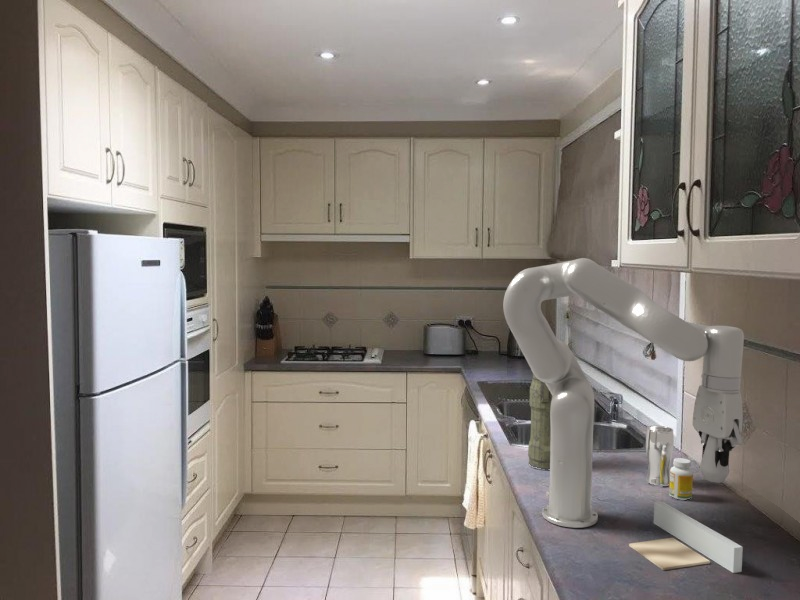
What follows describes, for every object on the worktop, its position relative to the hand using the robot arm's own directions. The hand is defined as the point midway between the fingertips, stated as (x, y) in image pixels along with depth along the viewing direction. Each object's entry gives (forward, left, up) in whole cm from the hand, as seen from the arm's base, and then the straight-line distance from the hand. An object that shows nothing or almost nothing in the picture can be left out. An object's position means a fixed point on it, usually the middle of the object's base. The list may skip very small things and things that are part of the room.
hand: (714, 464), depth 143 cm
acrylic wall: (+3, -7, -16) cm, 18 cm away
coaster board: (+5, -15, -16) cm, 23 cm away
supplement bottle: (-21, +9, -16) cm, 27 cm away
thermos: (-52, -13, -16) cm, 56 cm away
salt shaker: (0, 0, -4) cm, 4 cm away
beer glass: (-31, +10, -16) cm, 36 cm away
